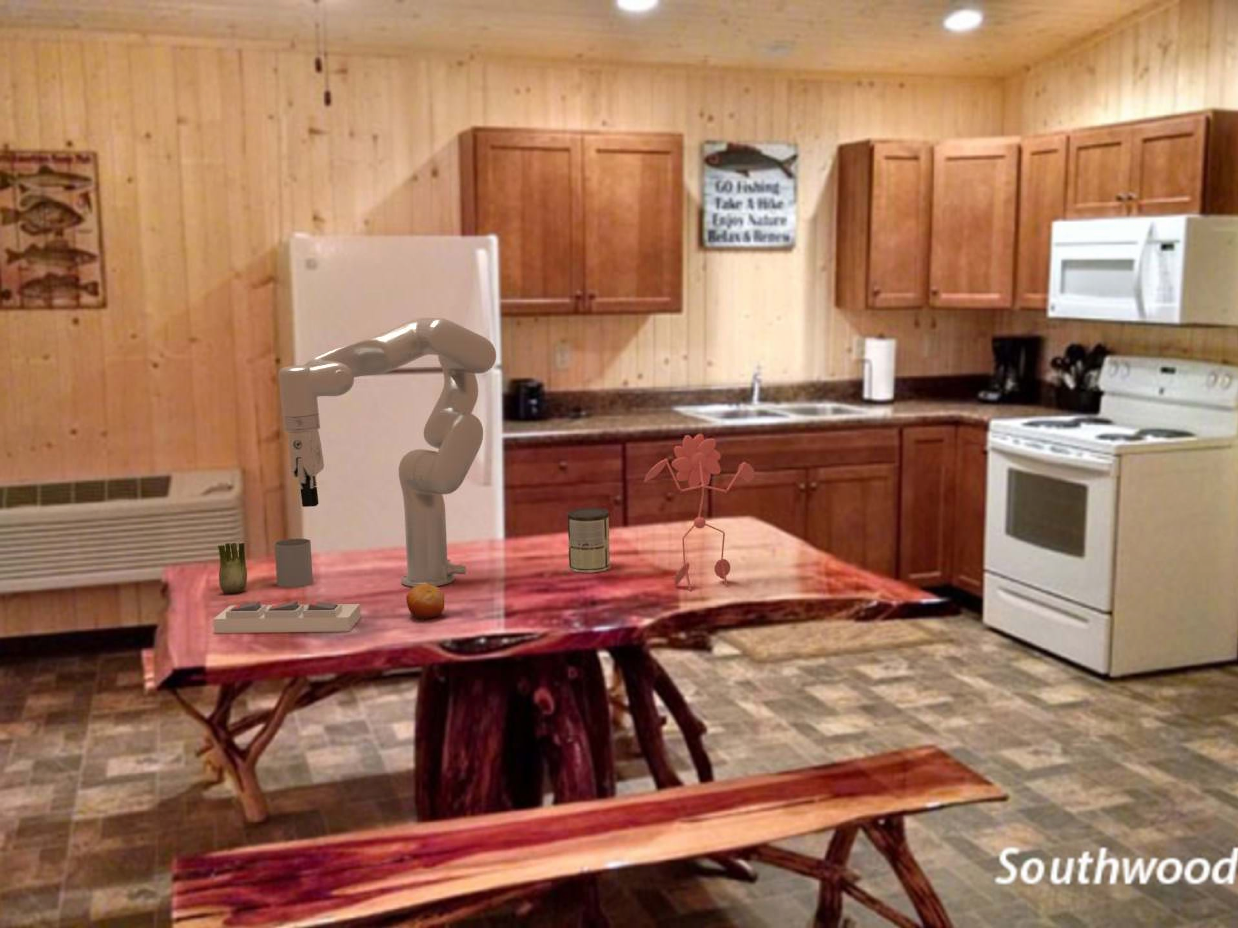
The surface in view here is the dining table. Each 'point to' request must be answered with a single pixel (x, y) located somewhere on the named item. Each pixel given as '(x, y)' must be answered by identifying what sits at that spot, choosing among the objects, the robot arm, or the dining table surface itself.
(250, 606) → the rocker
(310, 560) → the cup
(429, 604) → the fruit
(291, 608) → the rocker middle
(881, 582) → the dining table surface
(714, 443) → the figurine
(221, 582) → the fennel bulb
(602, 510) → the coffee can
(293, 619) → the power strip
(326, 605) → the rocker
